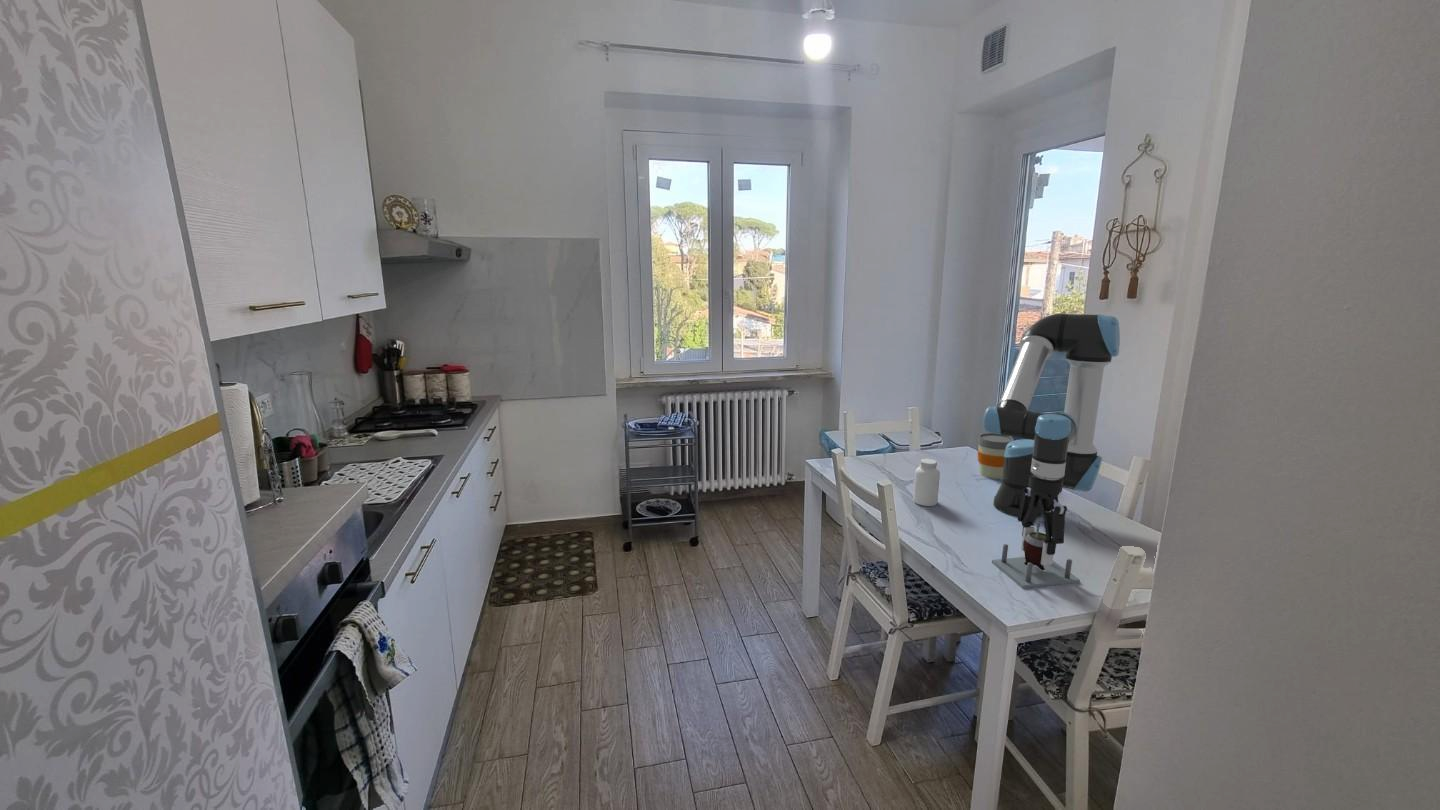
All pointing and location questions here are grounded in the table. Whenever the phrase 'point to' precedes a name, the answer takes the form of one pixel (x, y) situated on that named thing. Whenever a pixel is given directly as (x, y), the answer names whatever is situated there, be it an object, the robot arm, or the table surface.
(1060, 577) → the tray
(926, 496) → the pill bottle
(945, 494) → the table surface
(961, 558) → the table surface
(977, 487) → the table surface
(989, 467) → the reusable coffee cup
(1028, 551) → the mate gourd
